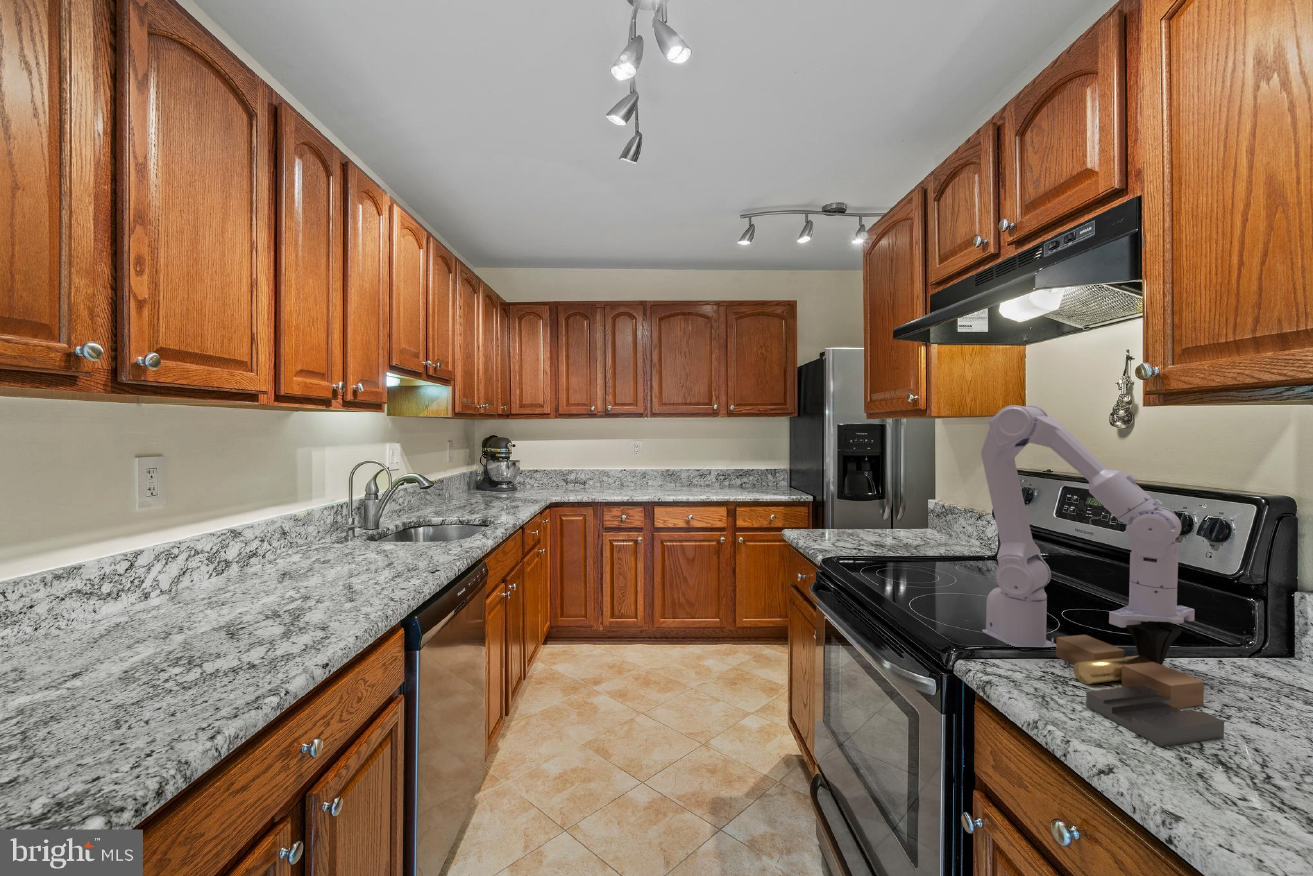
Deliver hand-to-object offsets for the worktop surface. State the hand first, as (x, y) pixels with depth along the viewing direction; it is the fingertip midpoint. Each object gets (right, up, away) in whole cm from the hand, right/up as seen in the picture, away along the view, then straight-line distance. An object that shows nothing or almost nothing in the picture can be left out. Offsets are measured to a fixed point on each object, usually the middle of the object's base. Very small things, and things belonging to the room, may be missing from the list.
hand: (1150, 666), depth 89 cm
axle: (-7, -2, -1) cm, 7 cm away
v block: (-12, -2, -14) cm, 18 cm away
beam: (-5, -1, -1) cm, 6 cm away
